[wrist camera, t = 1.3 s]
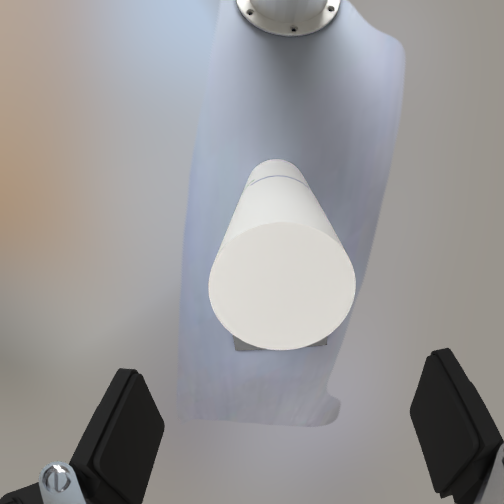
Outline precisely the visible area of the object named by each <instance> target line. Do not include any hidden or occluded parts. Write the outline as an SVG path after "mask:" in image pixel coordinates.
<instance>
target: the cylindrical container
mask: <svg viewBox="0 0 504 504" xmlns="http://www.w3.org/2000/svg"><path fill="white" fill-rule="evenodd" d="M208 286H209V298H210V302H211V305H212V308H213V310H214V312H215V314H216V316H217V318H218V319H219V321H220V322H221V323H222V325H223V326H224V327H225V328H226V329H227V330H228V331H229V332H231V333H232V334H233V335H234V336H236V337H237V338H239V339H241V340H242V341H244V342H246V343H248V344H251V345H254V346H256V347H260V348H265V349H270V350H291V349H298V348H302V347H305V346H309V345H311V344H313V343H316V342H318V341H320V340H322V339H323V338H325V337H326V336H328V335H329V334H331V333H332V332H333V331H334V330H335V329H336V328H337V327H338V326H339V325H340V324H341V323H342V321H343V320H344V319H345V317H346V316H347V314H348V312H349V310H350V308H351V306H352V303H353V300H354V295H355V290H356V285H355V274H354V270H353V266H352V263H351V261H350V259H349V257H348V255H347V253H346V251H345V250H344V248H343V246H342V244H341V242H340V240H339V238H338V237H337V235H336V233H335V231H334V229H333V227H332V226H331V224H330V222H329V220H328V219H327V217H326V215H325V213H324V211H323V210H322V208H321V206H320V204H319V202H318V201H317V199H316V197H315V195H314V194H313V192H312V190H311V189H310V187H309V185H308V184H307V182H306V180H305V178H304V177H303V175H302V173H301V172H300V170H299V169H298V168H297V167H296V166H295V165H293V164H292V163H290V162H288V161H285V160H281V159H271V160H267V161H264V162H262V163H260V164H259V165H258V166H256V167H255V168H254V170H253V171H252V172H251V174H250V176H249V178H248V180H247V183H246V185H245V188H244V190H243V192H242V195H241V197H240V200H239V202H238V204H237V207H236V209H235V212H234V214H233V216H232V219H231V221H230V224H229V226H228V229H227V231H226V234H225V236H224V239H223V241H222V243H221V246H220V248H219V251H218V253H217V256H216V258H215V261H214V263H213V266H212V269H211V272H210V277H209V283H208Z"/></svg>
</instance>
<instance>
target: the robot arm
mask: <svg viewBox="0 0 504 504" xmlns="http://www.w3.org/2000/svg"><path fill="white" fill-rule="evenodd" d="M236 3H237V5H238V8H239V10H240V11H241V13H242V14H243V16H244V17H245V18H246V19H247V20H248V21H249V22H250V23H251V24H253V25H254V26H256V27H257V28H259V29H261V30H263V31H265V32H268V33H272V34H275V35H280V36H302V35H308V34H311V33H314V32H316V31H318V30H320V29H322V28H324V27H325V26H326V25H327V24H328V23H330V22H331V20H332V19H333V18H334V16H335V15H336V13H337V11H338V9H339V5H340V0H236ZM328 10H331V11H332V12H330V11H328ZM249 13H252V15H248V14H249ZM292 29H295V30H296V31H295V32H292ZM410 416H411V419H412V422H413V425H414V428H415V430H416V434H417V436H418V439H419V442H420V445H421V448H422V452H423V455H424V458H425V461H426V464H427V467H428V471H429V474H430V477H431V480H432V484H433V487H434V490H435V492H436V493H440V497H441V498H445V497H447V496H450V495H453V498H454V502H455V504H504V441H503V439H502V437H501V435H500V433H499V431H498V429H497V427H496V425H495V423H494V421H493V419H492V417H491V415H490V413H489V411H488V410H487V408H486V406H485V404H484V402H483V400H482V399H481V397H480V395H479V393H478V392H477V390H476V388H475V386H474V385H473V384H472V382H470V381H469V379H468V377H467V376H466V374H465V372H464V371H463V369H462V367H461V366H460V364H459V362H458V361H457V359H456V358H455V356H454V354H453V353H452V351H451V350H450V349H449V348H445V349H440V350H436V351H432V353H431V355H430V356H428V357H427V358H426V362H425V365H424V368H423V371H422V375H421V378H420V381H419V384H418V387H417V390H416V393H415V396H414V399H413V402H412V404H411V407H410ZM163 432H164V421H163V419H162V417H161V415H160V413H159V411H158V409H157V407H156V405H155V402H154V400H153V398H152V396H151V394H150V392H149V389H148V387H147V385H146V383H145V380H144V378H143V376H142V375H141V374H139V373H138V372H137V370H135V369H122V368H120V369H119V370H118V371H117V372H116V374H115V376H114V378H113V380H112V381H111V383H110V386H109V387H108V389H107V391H106V393H105V395H104V397H103V398H102V400H101V402H100V404H99V406H98V407H97V409H96V410H95V412H94V414H93V416H92V418H91V420H90V422H89V424H88V426H87V428H86V430H85V432H84V434H83V436H82V438H81V440H80V442H79V444H78V446H77V448H76V450H75V452H74V454H73V456H72V458H71V461H70V463H69V464H67V463H64V462H60V461H56V462H52V463H50V464H48V465H46V466H45V467H44V468H43V469H42V471H41V473H40V475H39V482H37V483H35V484H32V485H30V486H27V487H24V488H21V489H19V490H16V491H13V492H10V493H7V494H6V495H4V496H3V497H2V498H1V499H0V504H142V501H143V498H144V495H145V491H146V488H147V485H148V481H149V478H150V475H151V471H152V468H153V464H154V461H155V458H156V455H157V452H158V448H159V445H160V442H161V439H162V436H163Z"/></svg>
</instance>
